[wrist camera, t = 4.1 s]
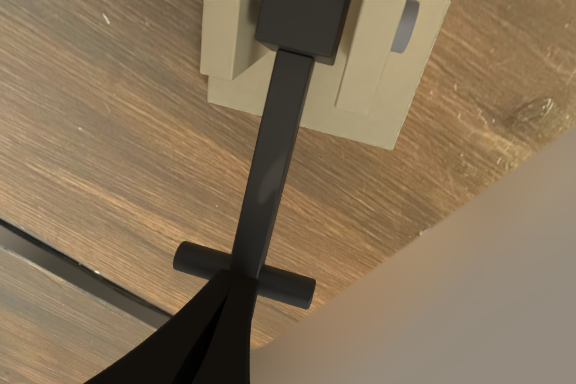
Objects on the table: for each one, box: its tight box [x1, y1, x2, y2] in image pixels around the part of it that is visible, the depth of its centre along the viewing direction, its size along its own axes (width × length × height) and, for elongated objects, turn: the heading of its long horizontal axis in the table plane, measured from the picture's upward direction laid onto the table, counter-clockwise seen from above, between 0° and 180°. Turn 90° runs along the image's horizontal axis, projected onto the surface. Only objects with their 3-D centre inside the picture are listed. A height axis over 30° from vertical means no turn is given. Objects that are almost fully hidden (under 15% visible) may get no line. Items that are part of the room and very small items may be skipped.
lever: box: [173, 0, 351, 309], centre depth 12 cm, size 11×5×2 cm, turn 169°
